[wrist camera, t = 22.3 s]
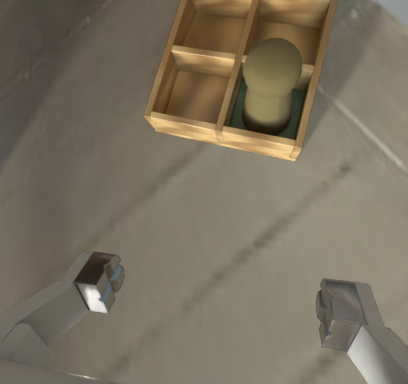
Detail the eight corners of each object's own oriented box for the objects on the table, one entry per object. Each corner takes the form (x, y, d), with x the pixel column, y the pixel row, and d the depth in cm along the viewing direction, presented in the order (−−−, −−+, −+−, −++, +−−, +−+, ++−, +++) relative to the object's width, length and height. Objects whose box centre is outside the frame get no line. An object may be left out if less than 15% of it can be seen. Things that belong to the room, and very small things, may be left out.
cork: (239, 95, 35) (235, 31, 24) (288, 88, 34) (306, 19, 23) (243, 140, 34) (240, 93, 23) (294, 134, 33) (315, 83, 22)
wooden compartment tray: (156, 131, 37) (143, 115, 33) (194, 12, 39) (186, -18, 35) (295, 161, 33) (302, 148, 29) (327, 28, 36) (339, -4, 31)
